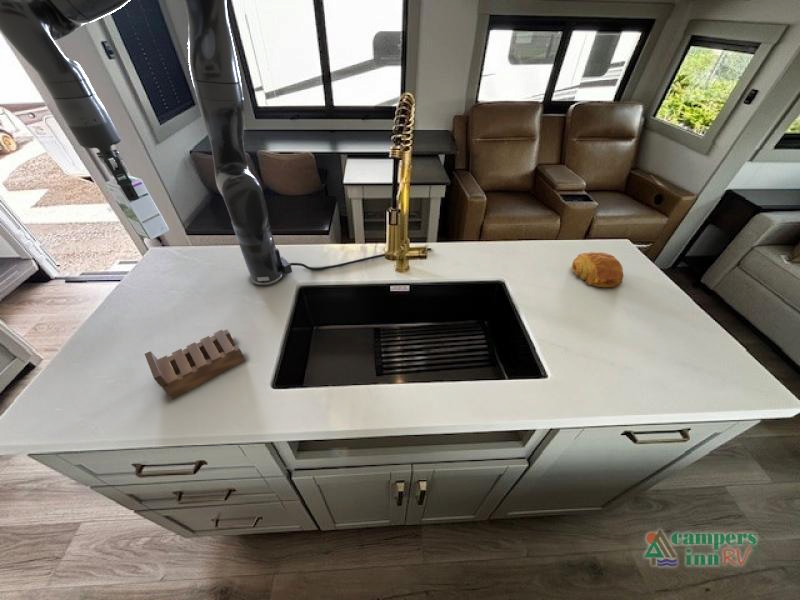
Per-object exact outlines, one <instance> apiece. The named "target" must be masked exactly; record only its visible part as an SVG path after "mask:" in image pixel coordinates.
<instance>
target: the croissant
mask: <svg viewBox="0 0 800 600" xmlns="http://www.w3.org/2000/svg"><path fill="white" fill-rule="evenodd" d="M571 268H572V272H573V273H574V275H576V276H577V277H578V278H580V279H581V280H583V281H584V282H585V284H587V285H589V286H593V287H597V288H613V287H617V286H619V285H621V284H622V283H623V279H624V268H623V265H622V264H621V262H620V261H619V260H618V259H617V258H616V257H615V256H614V255H612V254H609V253H606V252H599V251H598V252H592V251H590V252H583V253H579V254H578V255H577V256H576V257H575V258H574V259H573V261H572V265H571ZM593 284H594V285H593ZM618 284H619V285H618Z"/></svg>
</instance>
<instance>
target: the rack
mask: <svg viewBox="0 0 800 600" xmlns="http://www.w3.org/2000/svg"><path fill="white" fill-rule="evenodd" d="M144 356H145V359H146V362H147V365H148V367H149V369H150V372H151V374H152V376H153V379H154V381H155V382H156V383H157V384H158V385H159V386H160V387H161V389H162V390H163V391H164V392H165V393H166V394H167V396H168V397H169V399H171V400H174V399H175V398H178V397H180V396H181V395H183V394H186V393H187V392H189V391H191V390H193V389H195V388H196V387H199V386H200V385H202V384H204V383H206V382H208V381H210V380H211V379H213V378H215V377H217V376H220V375H221V374H223V373H224V372H228V370H230V369H232V368H234V367H236V366H238V365H240V364H241V363H244V362H245V361H246V358H245V356H244V354H243V352H242V350H241V348H240V346H239V344H236V343H235V341H234V339H233V337H232V335H231V333H230V331H229V329H227V328H225V330H223V329H220V330H218V331H216V332H213V335H211V336H210V335H207V336H205V337H203V338H200V340H199V342H196V341H195V342H192V343H190V344H188V345H186V347H185V348H184V349H182V348H179V349H177V350H175V351H173V352H171V355H164V356H162V357H160V358H157V357H156V355H155V354H154V353H153V352H152V351H151V350H150V351H148V352H146V353H144Z"/></svg>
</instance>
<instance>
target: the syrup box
mask: <svg viewBox="0 0 800 600" xmlns="http://www.w3.org/2000/svg"><path fill="white" fill-rule="evenodd" d="M127 175H128V177H129V179H131V181H132V186H133V187H134V189H135V191H136V193H137V194H138V196H139V199H138V200H133V201H129V200H128V198H127V197H126V195H125V193H124V192H123V190H122V188H121V186H119V185H118V184H117V181H116V179H115V177H113V178H112V179H110V180H108V181H105V182H104V184H105V186H106V188H107V189H108V191H109V192H110V194H111V195H112V197H113V199H114V200H115V202H116V203H117V205H118V207H119V208H120V209H121V210H120V211H122V213H123V214H124V216H125V217H126V219H127V221H128V223H129V224H130V226H131V227H132V228H133V230H134V231H135V233H136V235H137V236H140V237H144V238H145V239H148V240H153V239H155V238H158V237H160V236H162V235H164V234H166V233H167V232H169V231H170V228H169V226H168V224H167V222H166V221H165V219H164V217H163V215H162V213H161V212H160V210H159V208H158V206H157V204H156V203H155V201H154V200H153V197H152V195H151V194H150V192H149V190H148V189H147V187H146V185H145V183H144V181H143V179H142V178H140V177H136V176H132V175H129V174H127ZM117 178H118V180H122V179H126V177H125V175H124V176H120V177H117Z"/></svg>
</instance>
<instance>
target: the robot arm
mask: <svg viewBox="0 0 800 600" xmlns="http://www.w3.org/2000/svg"><path fill="white" fill-rule="evenodd" d="M130 1H131V0H0V32H1V34H3V36H4V37H5V38H6V40H7V41H8V42H9V43H10V44H11V45H12V47H13V48H14V49H15V50H16V51H17V52H18V54H20V56H21V57H22V58H23V59H24V60H25V61H26V62H27V63H28V64H29V65H30V67H32V69H33V70H34V71H35V72H36V74H37V75H38V77H39V78H40V80H41V82H42V83H43V85H44V86H45V88H46V90H47V92H48V93H49V94H50V95H49V96H51V98H52V100H53V101H54V104H55V106H56V108H57V110H58V112H59V114H60V115H61V117H62V119H63V121H64V122H65V124H66V125H67V127H68V129H69V130H70V132H71V133H72V135H73V136H74V138H75V140H76V141H77V143H78V144H79V146H80V147H81V148H85V149H97V150H98V152H95V154H96V156H97V157H98V159H99V161H100V163H101V165H103V166H104V167H105V169H106V171H107V172H108V174H109V175H110V176H111V177H113V178H115V179H116V181H117V184H118V185H119V186H121V188H122V190H123V192H124V193H125V195H126V197H127V198H128V200H129V201H133V200H138V199H139V196H138V194H137V193H136V191H135V189H134V187H133V186H132V181H131V179H129V177H128V175H129V171H128V169H127V167H126V164H125V163H124V162H123V158H122V156H121V154H120V152H119V150H117V149H116V148H115V149H113V148H112V146H114V145H118V144H119V143H120V142H121V141H122V138H121V136H120V134H119V132H118V130H117V128H116V126H115V125H114V122H113V120H112V119H111V117H110V114H109V113H108V111H107V109H106V107H105V105H104V104H103V102H102V101H101V99H100V98H99V97H98V95H97V93H96V91H95V90H94V88H93V86H92V84H91V82H90V80H89V78H88V76H87V75H86V73H85V71H84V70H83V68H82V67H81V65H80V64H79V63H78V62H77V61H75V60H74V59H73V58H72V59H71V58H68V57H66V56H65V55H64V53H63V52H62V51H61V49H60V48H59V46H58V44H56V42H55V41H58V40H60V39H63V38H65V37H66V36H69V35H70V34H72V33H74V32H75V31H77V30H78V29H79V28H81V27H82V26H83V25H85V24H89V23H92V22H95V21H97V20H99V19H101V18H103V17H105V16H107V15H110V14H112V13H114V12H116V11H117V10H119V9H121V8H122V7H124V6H125V5H126V4H128V2H130ZM183 1H184V4H185V8H186V15H187V25H188V26H187V29H188V31H187V33H188V34H187V36H188V42H187V45H188V47H187V49H188V63H189V64H188V65H189V71H190V76H191V80H192V85H193V90H194V94H195V97H196V100H197V104H198V109H199V111H200V115H201V118H202V122H203V124H204V127H205V131H206V133H207V136H208V140H209V142H210V147H211V148H210V149H211V153H212V160H213V167H214V178H215V184H216V188H217V190H218V192H219V193H220V195H221V196H222V198H223V201H224V203H225V206H226V208H227V212H228V214H229V217H230V221H231V226H232V229H233V231H234V234H235V237H236V240H237V243H238V246H239V248H240V251H241V254H242V257H243V259H244V262H245V265H246V268H247V271H248V273H249V277H250V280H251V282H252V283H253V284H255V285H256V286H262V287H263V286H270V285H273V284H276V283H278V282H279V281H280V280H281V279H282V278H283V277H284V276H287V275H289V274H291V273H293V268H292V266H298V267H303V268H305V269H307V270H311V271H322V270H328V269H334V268H340V267H343V266H344V267H345V266H348V265H352V264H356V263H360V262H361V263H362V262H365V261H370V260H373V259H377V258H378V259H379V258H383V257H386V256H385V254H386V253H381V254H377V255H372V256H368V257H363V258H360V259H356V260H350V261H346V262H342V263H338V264H333V265H331V264H330V265H326V266H319V267H313V266H308V265H307V264H305V263H301V262H289V261H288V260H287V259H286V258H285V257H283V256H281V254H280V253H281V252H280V249H278V247H277V246H276V244H275V241H274V237H273V233H272V229H271V225H270V221H269V211H268V207H267V203H266V200H265V195H264V192H263V188H262V186H261V184H260V181H259V180H258V179H257V178H256V177H255V176H254V175H253V173H252V171H251V169H250V165H249V161H248V157H247V155H246V154H247V153H246V149H245V142H244V133H245V119H246V115H245V113H246V110H245V100H244V99H245V98H244V94H243V86H242V82H241V81H242V80H241V75H240V69H239V66H238V65H239V64H238V60H237V55H236V50H235V45H234V41H233V36H232V33H231V28H230V27H231V26H230V23H229V16H228V8H227V7H228V6H227V0H183ZM124 175H125V177H126V179H122V180H118V178H117V177H120V176H124ZM426 248H427V251H429V252H430V251H432V248H431V247H430V248H429V247H426ZM427 251H426V252H427Z"/></svg>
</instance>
